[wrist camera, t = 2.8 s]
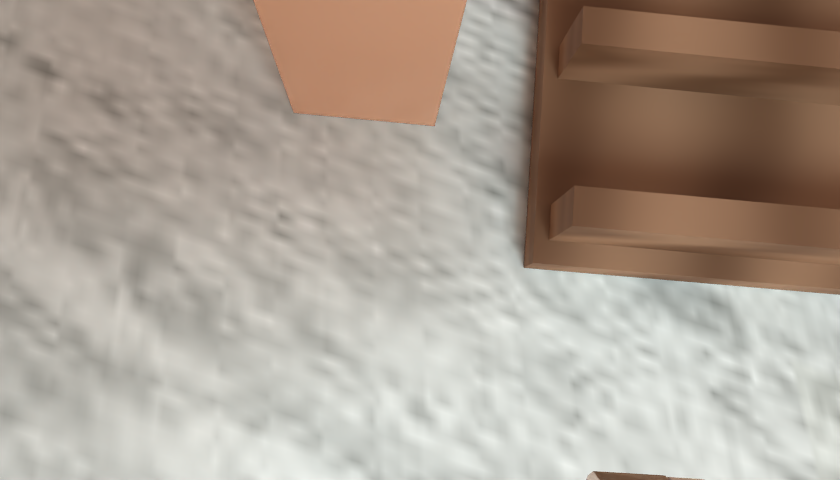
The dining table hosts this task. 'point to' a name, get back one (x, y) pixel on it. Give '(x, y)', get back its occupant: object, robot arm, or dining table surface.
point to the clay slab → (363, 55)
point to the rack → (688, 141)
